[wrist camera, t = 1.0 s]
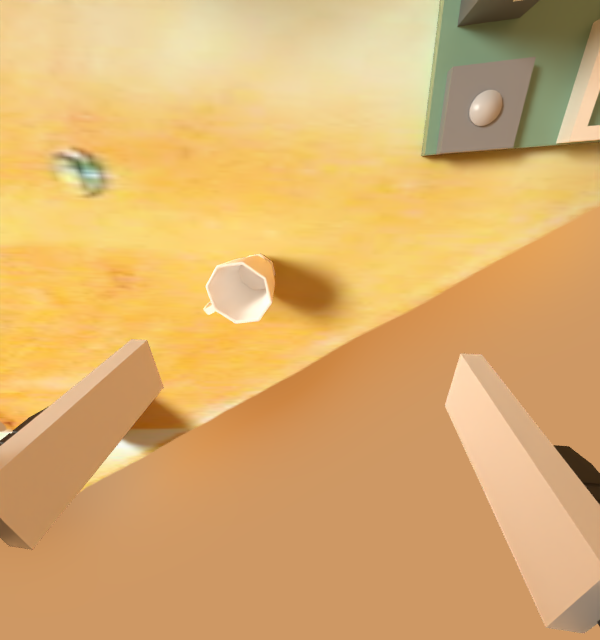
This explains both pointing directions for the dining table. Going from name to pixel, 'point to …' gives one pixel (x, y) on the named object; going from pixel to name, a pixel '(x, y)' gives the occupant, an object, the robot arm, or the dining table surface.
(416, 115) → the dining table surface
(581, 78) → the frame
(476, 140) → the grey push button
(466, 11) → the plug
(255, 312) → the cup
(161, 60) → the dining table surface
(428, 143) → the board
